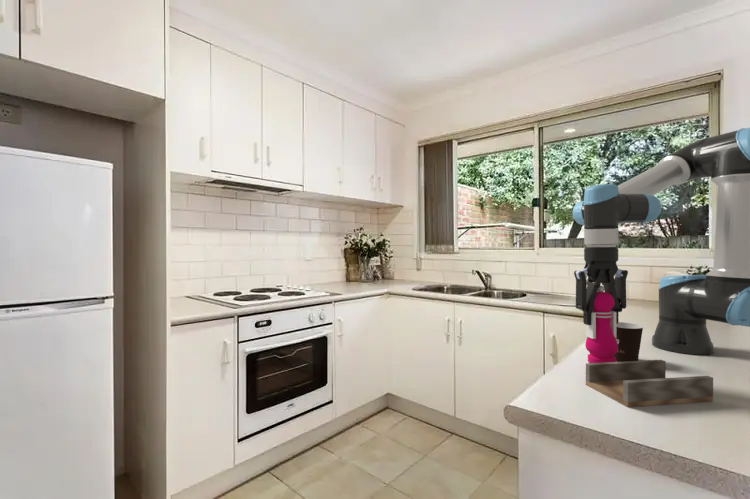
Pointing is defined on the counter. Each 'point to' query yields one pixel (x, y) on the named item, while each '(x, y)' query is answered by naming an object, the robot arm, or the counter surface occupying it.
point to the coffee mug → (628, 341)
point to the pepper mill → (602, 330)
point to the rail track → (646, 383)
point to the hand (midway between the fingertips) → (600, 336)
